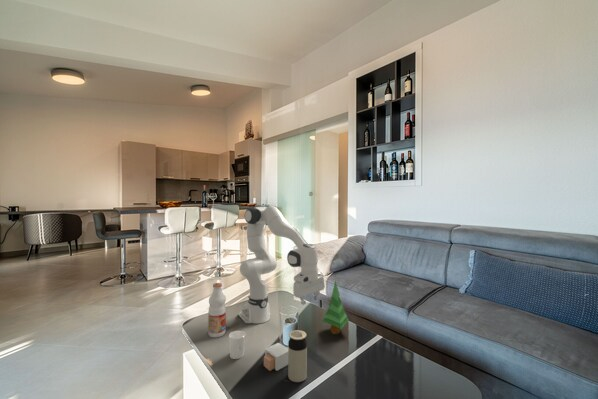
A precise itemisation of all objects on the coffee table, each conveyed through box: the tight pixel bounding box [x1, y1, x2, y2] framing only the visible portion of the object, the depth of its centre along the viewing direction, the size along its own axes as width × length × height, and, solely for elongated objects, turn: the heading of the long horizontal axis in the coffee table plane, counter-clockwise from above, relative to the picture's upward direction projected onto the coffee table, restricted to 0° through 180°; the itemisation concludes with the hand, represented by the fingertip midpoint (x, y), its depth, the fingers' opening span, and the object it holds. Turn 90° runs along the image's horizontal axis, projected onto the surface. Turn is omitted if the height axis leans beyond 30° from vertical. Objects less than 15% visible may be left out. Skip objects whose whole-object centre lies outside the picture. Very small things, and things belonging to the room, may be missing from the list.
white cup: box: [228, 330, 246, 360], centre depth 126 cm, size 8×8×10 cm
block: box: [263, 354, 275, 372], centre depth 118 cm, size 4×4×4 cm
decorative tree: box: [321, 279, 350, 335], centre depth 149 cm, size 14×16×30 cm
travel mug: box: [287, 329, 308, 383], centre depth 111 cm, size 8×8×18 cm
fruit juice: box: [207, 282, 227, 338], centre depth 147 cm, size 9×9×28 cm
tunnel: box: [264, 342, 288, 371], centre depth 120 cm, size 9×8×6 cm
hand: (310, 301), depth 136 cm, fingers open, 8 cm apart
